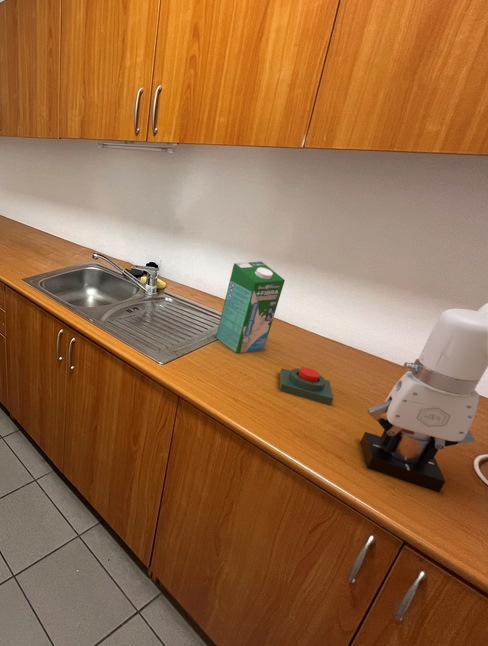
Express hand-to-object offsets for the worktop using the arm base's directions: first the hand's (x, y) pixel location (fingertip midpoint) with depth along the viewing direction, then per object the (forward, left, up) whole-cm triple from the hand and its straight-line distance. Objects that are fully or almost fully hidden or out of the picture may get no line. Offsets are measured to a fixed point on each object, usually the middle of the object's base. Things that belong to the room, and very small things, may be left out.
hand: (403, 452), depth 77 cm
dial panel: (0, 0, -4) cm, 4 cm away
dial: (0, 0, 0) cm, 0 cm away
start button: (+14, -19, 0) cm, 24 cm away
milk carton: (+29, -35, -4) cm, 46 cm away
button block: (+14, -19, -4) cm, 24 cm away
